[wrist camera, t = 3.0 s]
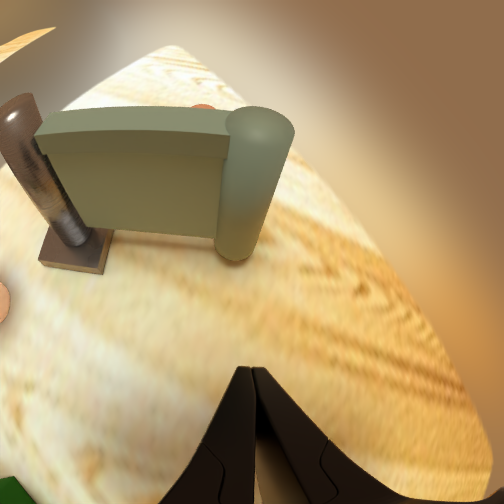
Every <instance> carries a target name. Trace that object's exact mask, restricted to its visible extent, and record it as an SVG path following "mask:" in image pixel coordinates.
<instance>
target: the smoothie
mask: <svg viewBox="0 0 504 504" xmlns="http://www.w3.org/2000/svg"><path fill="white" fill-rule="evenodd" d="M9 307H10V295H9V292H8V290H7V288H6V287H5V286H4V285H3V284H2V283H1V282H0V323H1V322H2V321H3V320H4V319H5V317H6V316H7V314H8V311H9Z"/></svg>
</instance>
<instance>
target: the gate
mask: <svg viewBox="0 0 504 504" xmlns="http://www.w3.org/2000/svg"><path fill="white" fill-rule="evenodd" d="M294 134H295V131H294V127H293V125H292V124H291V122H290V121H289V120H288V119H287V118H286V117H285V116H283V115H282V114H280V113H278V112H276V111H274V110H271V109H268V108H263V107H256V106H249V107H242V108H239V109H236V110H234V111H227V110H216V109H204V108H189V107H165V106H128V107H104V108H90V109H79V110H69V111H61V112H53V113H50V114H49V115H48V117H47V118H46V119H45V121H44V122H43V123H42V124H41V126H40V127H39V129H38V130H37V131H36V133H35V134H34V138H35V140H36V142H37V144H38V146H39V148H40V150H41V152H42V155H45V154H47V156H48V158H49V160H50V162H51V164H52V166H53V168H54V170H55V172H56V174H57V176H58V178H59V179H60V181H61V183H62V185H63V187H64V189H65V191H66V192H67V194H68V196H69V198H70V200H71V201H72V203H73V205H74V207H75V208H76V210H77V212H78V213H79V215H80V217H81V218H82V220H83V222H84V223H85V225H86V227H96V228H107V229H118V230H129V231H140V232H151V233H162V234H173V235H183V236H194V237H204V238H214V245H215V248H216V250H217V252H218V253H219V254H220V255H221V256H222V257H224V258H226V259H229V260H233V261H238V260H243V259H245V258H247V257H248V256H250V255H251V254H252V252H253V251H254V248H255V245H256V243H257V240H258V237H259V234H260V231H261V228H262V226H263V223H264V220H265V217H266V214H267V211H268V209H269V206H270V203H271V200H272V197H273V195H274V192H275V189H276V186H277V183H278V180H279V178H280V175H281V172H282V169H283V166H284V163H285V161H286V158H287V155H288V152H289V149H290V146H291V144H292V141H293V138H294Z"/></svg>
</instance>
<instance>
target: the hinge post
mask: <svg viewBox="0 0 504 504" xmlns="http://www.w3.org/2000/svg"><path fill="white" fill-rule="evenodd" d="M42 123H43V121H42V119H41V116H40V114H39V111H38V108H37V106H36V103H35V100H34V97H33V94H31V93H24V94H21V95H18V96H16V97H15V98H13V99H11V100H9V101H8V102H7V103H5V104H4V105H3V106H1V107H0V152H1V154H2V155H3V157H4V159H5V160H6V162H7V164H8V165H9V167H10V169H11V170H12V172H13V174H14V175H15V177H16V178H17V180H18V181H19V183H20V184H21V186H22V188H23V189H24V191H25V192H26V193H27V195H28V196H29V198H30V199H31V201H32V202H33V204H34V205H35V206H36V208H37V209H38V211H39V212H40V213H41V215H42V216H43V217H44V219H45V220H46V221H47V223H48V224H49V225H50V226H49V228H48V231H47V234H46V236H45V239H44V242H43V245H42V248H41V251H40V254H39V257H38V260H39V261H40V262H41V263H42V264H43V265H44V266H48V267H55V268H61V269H67V270H74V271H81V272H87V273H94V274H102V275H103V270H104V266H105V262H106V258H107V254H108V250H109V246H110V243H111V239H112V236H113V232H114V229H107V228H96V227H86V225H85V223H84V222H83V220H82V218H81V217H80V215H79V213H78V212H77V210H76V208H75V207H74V205H73V203H72V201H71V200H70V198H69V196H68V194H67V192H66V191H65V189H64V187H63V185H62V183H61V181H60V179H59V178H58V176H57V174H56V172H55V170H54V168H53V166H52V164H51V162H50V160H49V158H48V156H47V154H45V155H42V152H41V150H40V148H39V146H38V144H37V142H36V140H35V138H34V134H35V133H36V131H37V130H38V129H39V127H40V126H41V124H42Z"/></svg>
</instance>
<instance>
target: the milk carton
mask: <svg viewBox="0 0 504 504" xmlns="http://www.w3.org/2000/svg"><path fill="white" fill-rule="evenodd" d="M0 504H36V503H35V502H34V501H33V500H32V498H31V497H30V496H29V495H28V494H27V493H26V491H25V490H24V489H23V488H22V486H21V485H20V484H19V483H18V481H17V480H16V479H15V477H14V476H12V477H7V478H2V479H0Z"/></svg>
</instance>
